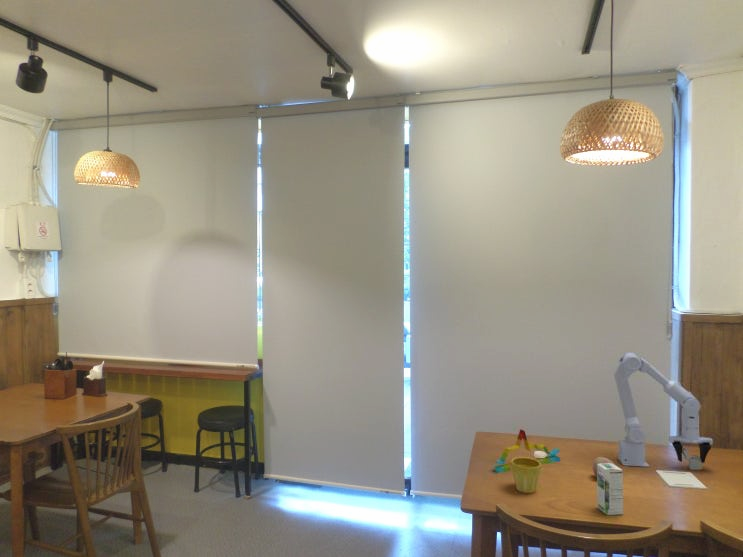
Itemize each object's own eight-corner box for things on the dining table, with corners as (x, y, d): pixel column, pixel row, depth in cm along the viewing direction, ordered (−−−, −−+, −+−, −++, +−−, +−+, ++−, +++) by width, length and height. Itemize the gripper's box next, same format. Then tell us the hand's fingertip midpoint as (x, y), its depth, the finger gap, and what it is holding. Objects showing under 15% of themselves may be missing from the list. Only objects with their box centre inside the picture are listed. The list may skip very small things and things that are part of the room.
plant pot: (541, 485, 179) (541, 458, 179) (541, 497, 169) (541, 469, 169) (512, 481, 182) (511, 455, 182) (510, 493, 172) (509, 465, 172)
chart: (554, 458, 205) (553, 423, 205) (560, 461, 202) (559, 425, 202) (493, 470, 193) (493, 432, 193) (498, 473, 190) (498, 435, 190)
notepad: (669, 486, 175) (669, 485, 175) (655, 471, 189) (655, 470, 189) (706, 489, 173) (706, 487, 173) (690, 473, 186) (690, 472, 186)
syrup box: (596, 507, 161) (595, 463, 161) (613, 506, 161) (613, 462, 161) (606, 515, 155) (605, 470, 155) (624, 514, 156) (623, 469, 156)
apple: (618, 484, 178) (617, 462, 178) (595, 482, 180) (595, 461, 180) (612, 475, 186) (611, 454, 186) (590, 474, 187) (590, 453, 187)
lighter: (698, 467, 192) (698, 447, 192) (701, 469, 190) (701, 449, 190) (680, 468, 192) (680, 447, 192) (683, 470, 190) (683, 449, 190)
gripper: (673, 428, 188) (674, 464, 188) (716, 430, 185) (716, 466, 185) (666, 423, 195) (667, 457, 195) (707, 425, 192) (708, 459, 192)
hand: (691, 461), depth 191 cm, fingers open, 7 cm apart
